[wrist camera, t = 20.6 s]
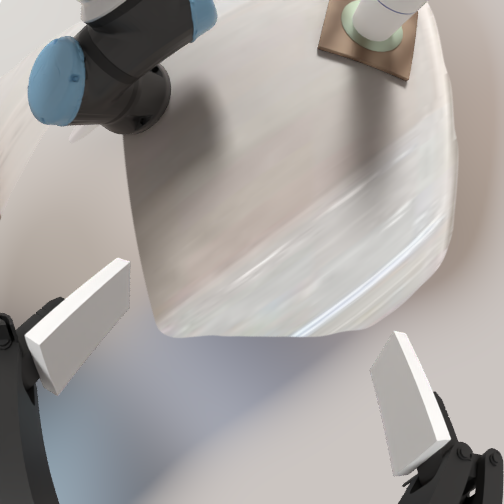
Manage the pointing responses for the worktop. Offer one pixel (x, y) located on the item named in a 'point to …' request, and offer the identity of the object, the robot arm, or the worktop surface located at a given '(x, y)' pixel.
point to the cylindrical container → (383, 17)
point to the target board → (368, 41)
